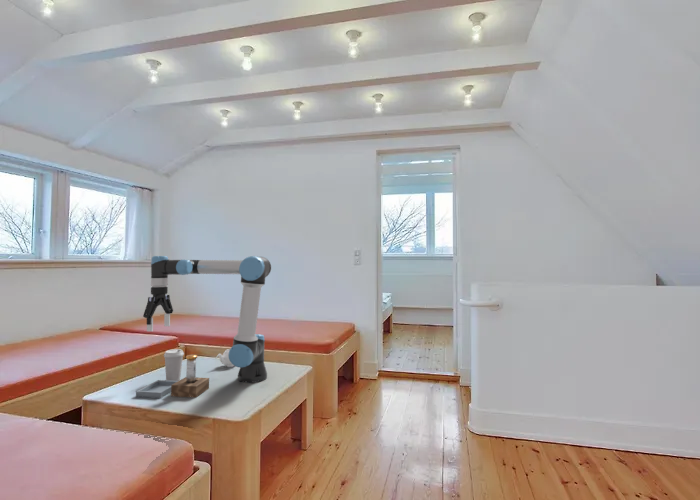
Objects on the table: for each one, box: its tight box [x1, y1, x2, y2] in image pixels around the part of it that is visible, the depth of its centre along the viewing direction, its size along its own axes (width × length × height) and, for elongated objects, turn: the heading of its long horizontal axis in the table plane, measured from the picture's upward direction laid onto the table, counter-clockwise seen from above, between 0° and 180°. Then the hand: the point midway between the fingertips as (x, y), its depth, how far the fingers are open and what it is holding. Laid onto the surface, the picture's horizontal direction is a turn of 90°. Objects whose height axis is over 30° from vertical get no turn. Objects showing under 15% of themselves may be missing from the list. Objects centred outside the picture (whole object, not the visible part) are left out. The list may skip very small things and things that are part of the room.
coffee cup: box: [163, 348, 185, 381], centre depth 188 cm, size 10×10×15 cm
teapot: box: [215, 348, 235, 368], centre depth 215 cm, size 10×20×9 cm, turn 140°
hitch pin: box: [185, 354, 198, 384], centre depth 172 cm, size 5×5×17 cm
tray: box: [135, 379, 178, 399], centre depth 172 cm, size 12×16×2 cm
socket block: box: [170, 376, 210, 399], centre depth 171 cm, size 12×12×5 cm
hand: (158, 328), depth 183 cm, fingers open, 13 cm apart
